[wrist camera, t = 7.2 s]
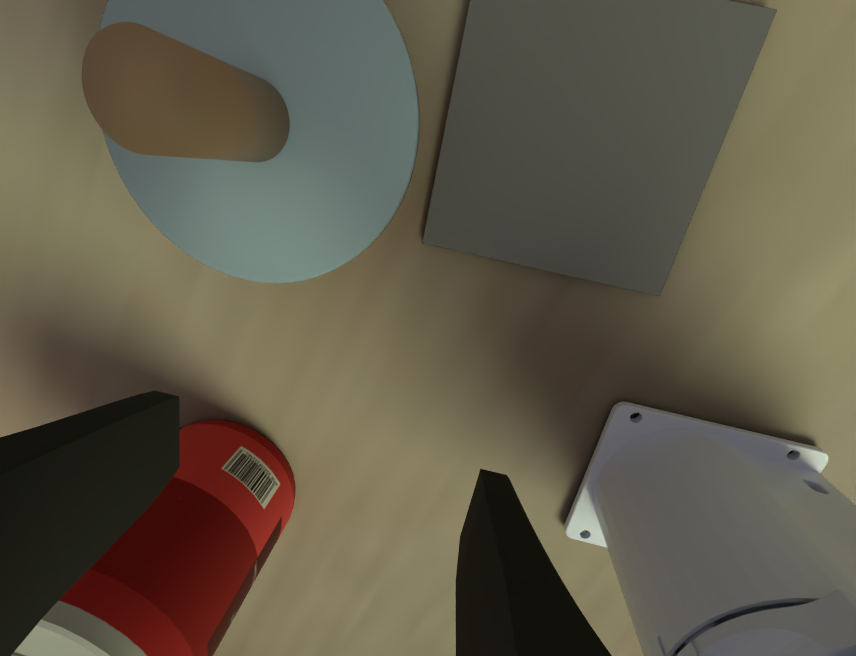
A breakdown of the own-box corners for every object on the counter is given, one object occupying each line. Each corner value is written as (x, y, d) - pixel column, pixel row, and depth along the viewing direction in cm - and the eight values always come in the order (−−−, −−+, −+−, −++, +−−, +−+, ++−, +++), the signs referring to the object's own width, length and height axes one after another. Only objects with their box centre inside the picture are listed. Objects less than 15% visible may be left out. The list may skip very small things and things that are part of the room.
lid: (454, -39, 13) (435, -194, 7) (386, 309, 16) (341, 371, 11) (101, -115, 13) (-157, -313, 8) (115, 242, 17) (-51, 271, 12)
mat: (769, 14, 14) (777, 9, 14) (655, 293, 18) (659, 296, 18) (479, -42, 15) (479, -48, 14) (423, 241, 18) (422, 243, 18)
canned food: (162, 400, 23) (-102, 583, 13) (306, 433, 22) (156, 650, 12) (167, 511, 25) (-47, 738, 15) (296, 542, 25) (166, 797, 15)
